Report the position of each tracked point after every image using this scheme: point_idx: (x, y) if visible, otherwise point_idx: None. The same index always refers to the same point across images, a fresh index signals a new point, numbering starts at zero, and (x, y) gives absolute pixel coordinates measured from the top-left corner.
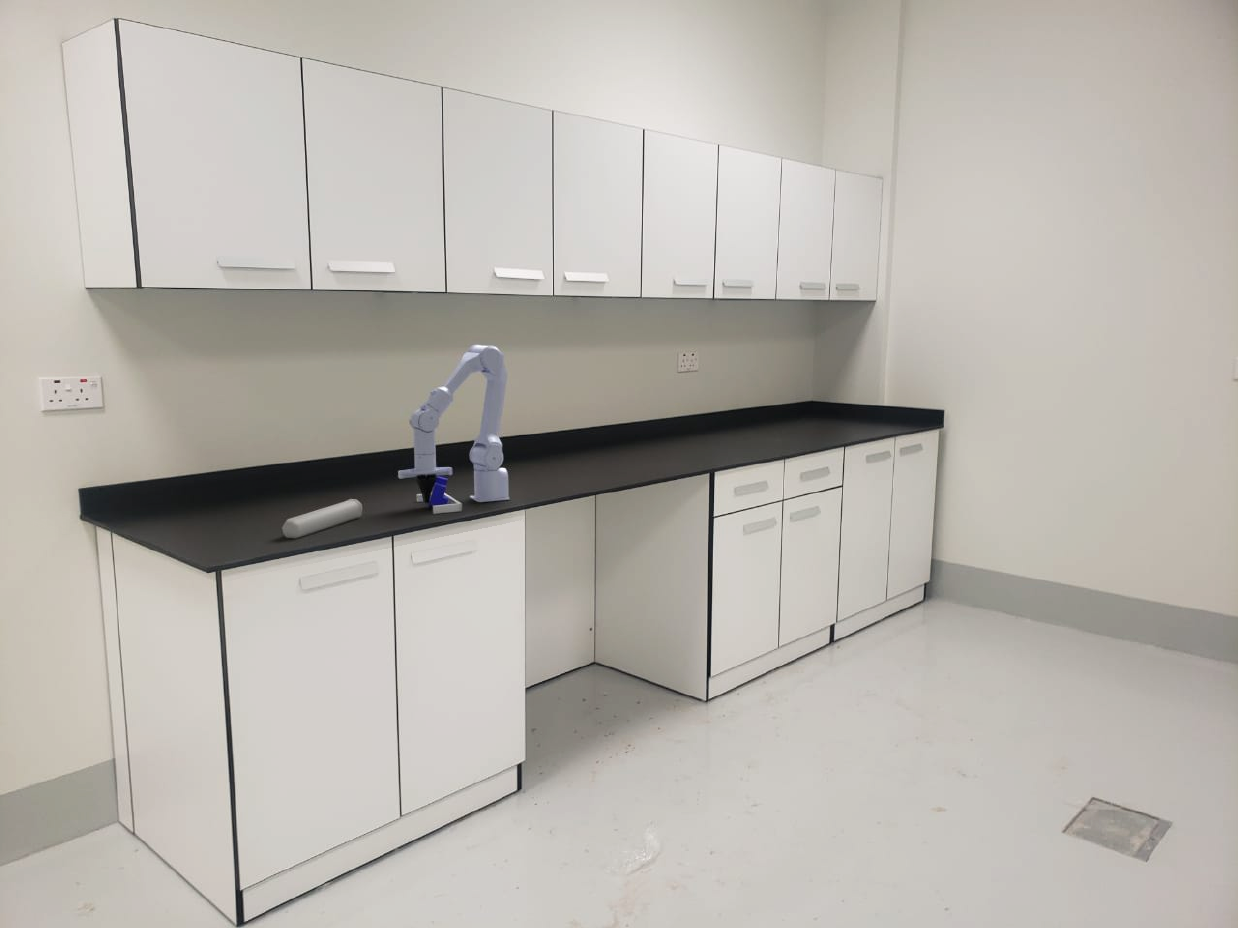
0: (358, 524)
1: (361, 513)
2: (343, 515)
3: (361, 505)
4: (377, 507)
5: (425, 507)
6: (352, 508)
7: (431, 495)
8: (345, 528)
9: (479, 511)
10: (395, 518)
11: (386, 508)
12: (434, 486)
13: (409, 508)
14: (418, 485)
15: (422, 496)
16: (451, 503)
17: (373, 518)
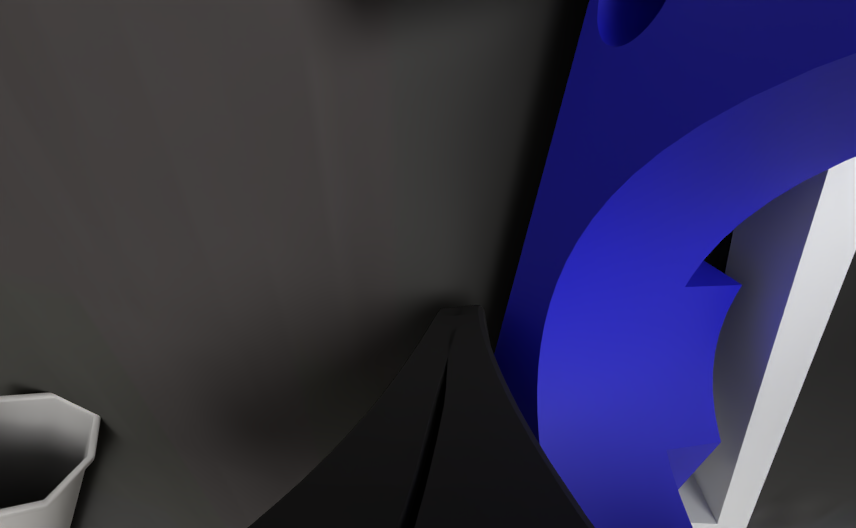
0: (162, 498)
1: (95, 453)
2: (61, 519)
3: (50, 504)
4: (46, 191)
5: (459, 303)
6: (44, 522)
7: (536, 358)
8: (143, 519)
9: (822, 513)
10: (288, 477)
11: (140, 249)
12: (762, 94)
13: (326, 300)
14: (322, 468)
15: (421, 345)
16: (729, 347)
17: (179, 447)
